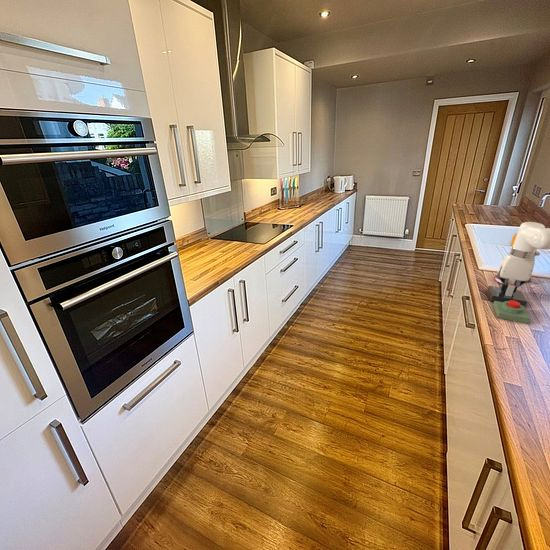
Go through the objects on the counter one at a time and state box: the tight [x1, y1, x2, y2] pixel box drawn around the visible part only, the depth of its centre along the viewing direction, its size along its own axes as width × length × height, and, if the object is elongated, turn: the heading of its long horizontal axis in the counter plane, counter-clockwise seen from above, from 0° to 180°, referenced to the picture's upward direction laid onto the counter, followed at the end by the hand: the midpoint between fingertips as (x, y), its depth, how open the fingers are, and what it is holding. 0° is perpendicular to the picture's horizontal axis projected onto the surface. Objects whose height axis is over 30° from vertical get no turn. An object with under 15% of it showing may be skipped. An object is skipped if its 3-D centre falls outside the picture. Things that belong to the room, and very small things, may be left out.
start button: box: [508, 300, 520, 308], centre depth 114 cm, size 4×4×2 cm
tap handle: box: [505, 280, 515, 296], centre depth 123 cm, size 6×2×5 cm, turn 154°
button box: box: [492, 301, 532, 324], centre depth 115 cm, size 10×10×4 cm
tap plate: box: [486, 285, 528, 308], centre depth 125 cm, size 12×10×3 cm
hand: (507, 292), depth 125 cm, fingers closed on tap handle, 2 cm apart
